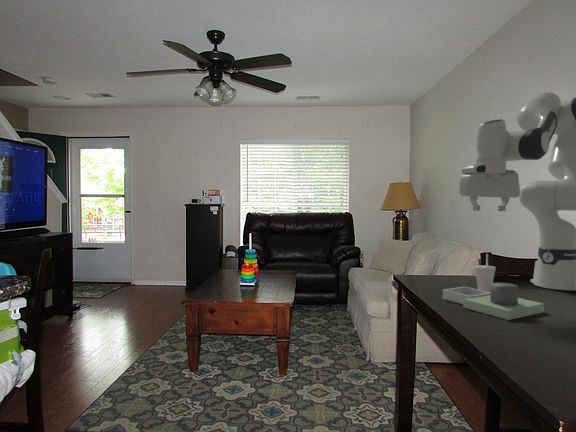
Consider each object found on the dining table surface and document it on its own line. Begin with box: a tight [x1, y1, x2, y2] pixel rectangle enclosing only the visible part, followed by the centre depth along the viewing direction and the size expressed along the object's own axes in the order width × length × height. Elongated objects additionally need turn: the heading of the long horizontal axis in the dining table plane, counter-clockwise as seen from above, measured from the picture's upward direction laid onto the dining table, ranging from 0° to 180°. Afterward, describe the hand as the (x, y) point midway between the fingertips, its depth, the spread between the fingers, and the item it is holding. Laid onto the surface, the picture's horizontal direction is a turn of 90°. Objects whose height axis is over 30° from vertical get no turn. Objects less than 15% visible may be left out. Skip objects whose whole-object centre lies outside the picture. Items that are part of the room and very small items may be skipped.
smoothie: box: [474, 253, 497, 292], centre depth 134 cm, size 6×6×14 cm
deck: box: [442, 282, 545, 321], centre depth 121 cm, size 16×24×8 cm, turn 27°
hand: (489, 211), depth 133 cm, fingers open, 8 cm apart
